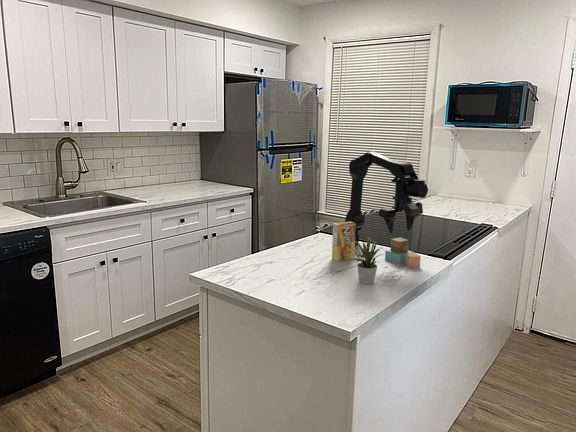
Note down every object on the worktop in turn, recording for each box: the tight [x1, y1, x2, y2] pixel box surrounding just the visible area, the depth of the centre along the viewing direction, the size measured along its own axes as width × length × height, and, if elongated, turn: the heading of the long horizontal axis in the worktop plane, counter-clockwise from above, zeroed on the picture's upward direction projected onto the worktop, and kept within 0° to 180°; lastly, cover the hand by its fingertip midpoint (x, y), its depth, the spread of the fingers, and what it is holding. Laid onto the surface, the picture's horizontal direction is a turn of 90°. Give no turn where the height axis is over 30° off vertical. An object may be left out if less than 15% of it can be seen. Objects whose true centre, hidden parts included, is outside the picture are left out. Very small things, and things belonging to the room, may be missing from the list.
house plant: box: [351, 236, 384, 285], centre depth 158 cm, size 14×14×16 cm
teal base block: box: [384, 248, 414, 265], centre depth 183 cm, size 8×8×4 cm
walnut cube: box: [390, 237, 409, 254], centre depth 182 cm, size 5×5×5 cm
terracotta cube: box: [404, 252, 421, 268], centre depth 176 cm, size 4×4×4 cm
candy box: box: [331, 221, 356, 262], centre depth 183 cm, size 9×4×15 cm, turn 116°
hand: (399, 231), depth 181 cm, fingers open, 9 cm apart
